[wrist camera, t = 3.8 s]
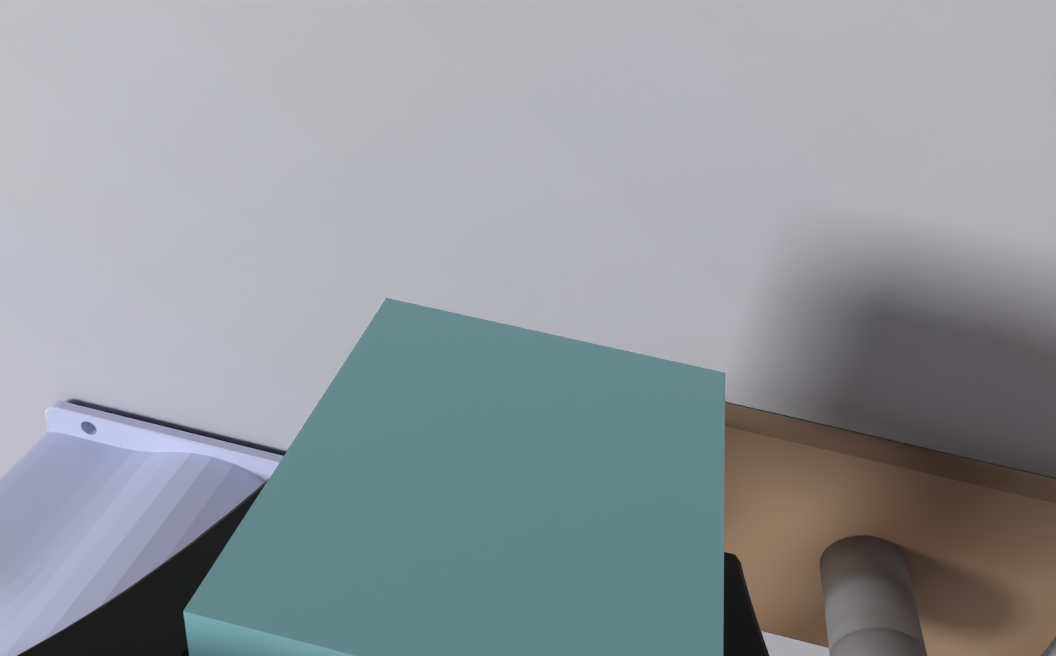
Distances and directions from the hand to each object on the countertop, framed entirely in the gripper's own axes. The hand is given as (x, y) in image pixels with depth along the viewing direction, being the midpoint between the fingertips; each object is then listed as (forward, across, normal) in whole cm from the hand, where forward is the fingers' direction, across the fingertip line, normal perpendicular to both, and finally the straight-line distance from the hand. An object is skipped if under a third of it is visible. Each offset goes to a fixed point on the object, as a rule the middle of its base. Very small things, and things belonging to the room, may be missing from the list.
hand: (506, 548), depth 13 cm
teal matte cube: (+2, 0, 0) cm, 2 cm away
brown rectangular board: (+10, -9, +7) cm, 15 cm away
